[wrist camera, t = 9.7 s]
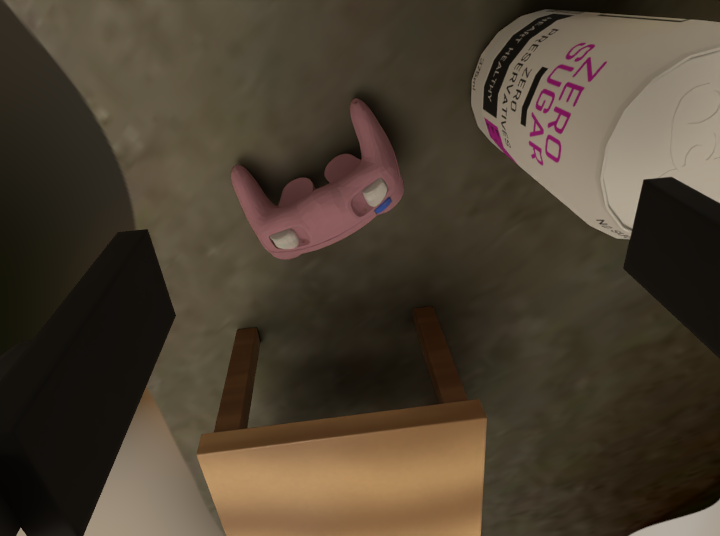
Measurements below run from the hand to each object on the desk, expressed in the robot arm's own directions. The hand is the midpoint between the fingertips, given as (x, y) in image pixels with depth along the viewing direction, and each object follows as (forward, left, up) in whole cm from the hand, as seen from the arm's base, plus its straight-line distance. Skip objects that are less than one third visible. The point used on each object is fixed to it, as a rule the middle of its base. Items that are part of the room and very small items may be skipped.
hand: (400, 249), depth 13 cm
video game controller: (+4, -3, -19) cm, 20 cm away
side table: (+22, -3, -19) cm, 29 cm away
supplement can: (0, +11, -19) cm, 22 cm away
